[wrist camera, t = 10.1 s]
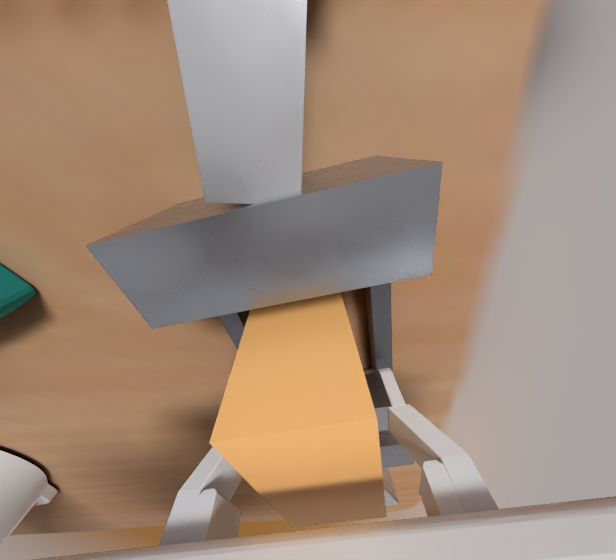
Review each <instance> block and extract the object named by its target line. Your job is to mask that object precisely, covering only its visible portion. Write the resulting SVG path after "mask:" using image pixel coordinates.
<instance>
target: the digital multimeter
mask: <svg viewBox="0 0 616 560" xmlns="http://www.w3.org/2000/svg"><path fill="white" fill-rule="evenodd" d="M34 295H35V290H34V287H33V286H31V285H30V284H29V283H27V282H26V281H25V280H23V279H22V278H21V277H19V276H18V275H16V274H15V273H14V272H12V271H11V270H10V269H8V268H7V267H6V266H4V265H3V264H1V263H0V319H1V318H2V317H4V316H6V315H8V314H9V313H11V312H13V311H14V310H16V309H17V308H19V307H20V306H22V305H23V304H24V303H26V302H27V301H28V300H30V299H31V298H32V297H34Z"/></svg>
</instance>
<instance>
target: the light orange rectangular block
mask: <svg viewBox="0 0 616 560" xmlns="http://www.w3.org/2000/svg"><path fill="white" fill-rule="evenodd" d="M209 443H210V444H211V445H212V446H213V447H214V448H215V449H216V450H217V451H218V452H219V453H220V455H221V456H222V457H223V458H224V459H225V460H226V461H227V462H228V463H229V464H230V465H231V466H232V467H233V468H234V469H235V470H236V471H237V472H238V473H239V474H240V475H241V476H242V477H243V478H244V479H245V480H246V481H247V482H248V483H249V484H250V485H251V486H252V487H253V488H254V489H255V490H256V491H257V492H258V493H259V494H260V495H261V496H262V497H263V498H264V499H265V500H266V501H267V502H268V503H269V504H270V505H271V506H272V507H273V508H274V509H275V510H276V511H277V512H278V513H279V514H280V515H281V516H282V517H283V518H284V519H285V520H286V522H287V523H288V524H289V525H290V526H291V527H300V526H309V525H318V524H327V523H336V522H345V521H354V520H363V519H373V518H382V517H386V506H385V496H384V485H383V474H382V464H381V453H380V442H379V431H378V421H377V416H376V412H375V409H374V405H373V402H372V398H371V395H370V392H369V388H368V385H367V381H366V378H365V374H364V371H363V367H362V364H361V361H360V357H359V354H358V350H357V347H356V343H355V340H354V336H353V333H352V330H351V326H350V323H349V319H348V316H347V312H346V309H345V305H344V302H343V299H342V295H341V292H340V293H334V294H329V295H324V296H319V297H314V298H309V299H304V300H298V301H293V302H288V303H283V304H278V305H273V306H268V307H262V308H257V309H252V310H250V312H249V315H248V318H247V322H246V325H245V328H244V331H243V335H242V338H241V341H240V344H239V348H238V351H237V354H236V357H235V361H234V364H233V367H232V370H231V374H230V377H229V380H228V383H227V387H226V390H225V393H224V396H223V400H222V403H221V406H220V409H219V413H218V416H217V419H216V422H215V426H214V429H213V432H212V435H211V439H210V442H209Z"/></svg>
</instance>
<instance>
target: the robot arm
mask: <svg viewBox="0 0 616 560" xmlns="http://www.w3.org/2000/svg"><path fill="white" fill-rule="evenodd" d="M364 374H365V378H366V381H367V385H368V388H369V392H370V395H371V398H372V402H373V405H374V409H375V412H376V416H377V421H378V431H384V430H389V431H390V432H391V434H392V435H393V436H394V437H395V438H396V439H397V440H398V442H399V443H400V444H401V445H402V446H403V447H404V448H405V450H406V451H407V452H408V453H409V454H410V455H411V457H412V458H413V459H414V460H415V461H416V462H417V463H418V465H419V466H420V467H421V468H422V474H421V480H420V487H419V493H420V495H421V498H422V501H423V504H424V507H425V510H426V513H427V516H428V517H421V518H411V519H402V520H393V521H384V522H374V523H366V524H356V525H347V526H337V527H329V528H319V529H310V530H300V531H292V532H282V533H273V534H263V535H254V536H245V537H237V536H238V529H239V522H240V516H241V511H240V509H239V507H237V506H236V505H235V504H233V503H232V502H231V499H232V497H233V495H234V493H235V491H236V490H237V488H238V486H239V484H240V482H241V480H242V478H243V477H242V476H241V475H240V474H239V473H238V472H237V471H236V470H235V469H234V468H233V467H232V466H231V465H230V464H229V463H228V462H227V461H226V460H225V459H224V458H223V457H222V456H221V455H220V453H219V452H218V451H217V450H216V449H215V448H214V447H212V448H211V449H210V451H209V452H208V453H207V455H206V456H205V457H204V459H203V460H202V461H201V462H200V464H199V465H198V466H197V468H196V469H195V470H194V472H193V473H192V474H191V476H190V477H189V478H188V479H187V481H186V482H185V483H184V485H183V486H182V487H181V489H180V490H179V491H178V494H177V497H176V499H175V502H174V505H173V508H172V511H171V513H170V516H169V519H168V522H167V525H166V528H165V530H164V533H163V536H162V539H161V541H160V544H159V546H153V547H143V548H134V549H125V550H116V551H106V552H97V553H88V554H79V555H70V556H61V557H51V558H42V559H32V560H616V496H615V497H606V498H596V499H587V500H578V501H569V502H559V503H550V504H541V505H532V506H522V507H513V508H504V509H498V507H497V505H496V503H495V501H494V500H493V498H492V496H491V494H490V492H489V491H488V489H487V487H486V485H485V483H484V482H483V480H482V478H481V476H480V475H479V473H478V471H477V469H476V467H475V466H474V464H473V462H472V460H471V458H470V456H469V455H468V454H467V453H466V452H465V451H464V450H462V449H461V448H460V447H459V446H458V445H457V444H455V443H454V442H453V441H452V440H451V439H450V438H448V437H447V436H446V435H445V434H444V433H443V432H441V431H440V430H439V429H438V428H437V427H436V426H434V425H433V424H432V423H431V422H430V421H429V420H427V419H426V418H425V417H424V416H423V415H422V414H420V413H419V412H418V411H417V410H416V409H415V408H413V407H412V406H411V405H410V404H405V401H404V399H403V397H402V394H401V392H400V390H399V387H398V385H397V382H396V380H395V378H394V375H393V373H392V371H391V369H390V368H383V369H376V370H370V371H365V372H364ZM57 493H58V491H57V490H56V489H55V488H54V487H52V486H51V485H49V484H48V482H47V477H46V475H45V474H44V472H43V471H42V470H40V469H39V468H38V467H36V466H35V465H33V464H31V463H30V462H28V461H26V460H24V459H21V458H19V457H17V456H14V455H12V454H9V453H6V452H4V451H1V450H0V547H1V545H2V544H3V543H4V542H5V540H6V539H7V538H8V537H9V535H10V534H11V533H12V532H13V530H14V529H15V528H16V527H17V525H18V524H19V523H20V522H21V521H22V519H23V518H24V517H25V516H26V514H27V513H28V512H29V511H30V509H31V508H32V507H33V506H35V505H42V504H47V503H49V502H50V501H51V500H52V499H53V497H54V496H55V495H56V494H57Z"/></svg>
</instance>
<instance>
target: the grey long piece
mask: <svg viewBox="0 0 616 560" xmlns="http://www.w3.org/2000/svg"><path fill="white" fill-rule="evenodd" d="M167 1H168V6H169V11H170V17H171V22H172V27H173V33H174V38H175V43H176V49H177V54H178V59H179V65H180V70H181V76H182V81H183V86H184V92H185V97H186V102H187V108H188V113H189V118H190V124H191V129H192V134H193V140H194V145H195V150H196V156H197V161H198V166H199V172H200V177H201V182H202V188H203V193H204V198H201V199H197V200H193V201H189V202H185V203H181V204H177V205H175V206H173V207H171V208H168V209H166V210H164V211H162V212H159V213H157V214H155V215H153V216H151V217H148V218H146V219H144V220H142V221H139V222H137V223H135V224H133V225H131V226H128V227H126V228H124V229H122V230H119V231H117V232H115V233H113V234H111V235H108V236H106V237H104V238H102V239H99V240H97V241H95V242H93V243H91V244H88V245H86V247H87V248H88V249H89V251H90V252H91V253H92V254H93V256H94V257H95V258H96V259H97V261H98V262H99V263H100V264H101V266H102V267H103V268H104V269H105V271H106V272H107V273H108V274H109V276H110V277H111V278H112V279H113V280H114V282H115V283H116V284H117V285H118V287H119V288H120V289H121V290H122V292H123V293H124V294H125V295H126V297H127V298H128V299H129V300H130V302H131V303H132V304H133V305H134V307H135V308H136V309H137V310H138V312H139V313H140V314H141V315H142V317H143V318H144V319H145V320H146V322H147V323H148V324H149V325H150V327H151V328H152V329H154V328H159V327H165V326H170V325H175V324H180V323H185V322H190V321H195V320H201V319H206V318H211V317H216V316H219V318H220V319H221V321H222V323H223V325H224V327H225V328H226V330H227V332H228V334H229V335H230V337H231V339H232V341H233V343H234V344H235V346H236V348H237V350H238V348H239V344H240V341H241V338H242V335H243V331H244V328H245V325H246V322H247V318H248V315H249V312H250V310H252V309H257V308H262V307H268V306H273V305H278V304H283V303H288V302H293V301H298V300H304V299H309V298H314V297H319V296H324V295H329V294H334V293H340V292H345V291H350V290H355V289H360V288H364V289H365V300H366V310H367V320H368V331H369V341H370V352H371V362H372V368H367V369H363V371H364V372H365V371H370V370H376V369H383V368H390V369H391V371H392V326H391V282H396V281H401V280H407V279H412V278H417V277H422V276H427V275H432V266H433V256H434V245H435V235H436V224H437V214H438V203H439V193H440V182H441V172H442V162H439V161H427V160H416V159H404V158H393V157H381V156H374V157H370V158H366V159H361V160H357V161H353V162H349V163H345V164H341V165H337V166H333V167H329V168H324V169H320V170H316V171H312V172H308V173H304V174H302V150H303V117H304V85H305V53H306V21H307V0H167ZM379 442H380V453H381V464H382V474H383V485H384V496H385V506H386V507H387V506H392V505H398V504H399V502H398V499H397V495H396V492H395V488H394V484H393V481H392V477H391V474H390V470H389V468H388V467H394V466H402V465H410V464H414V459H413V458H412V457H411V455H410V454H409V453H408V452H407V451H406V450H405V448H404V447H403V446H402V445H401V444H400V443H399V442H398V440H397V439H396V438H395V437H394V436H393V435H392V434H391V432H390V431H389V430H384V431H379Z"/></svg>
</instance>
